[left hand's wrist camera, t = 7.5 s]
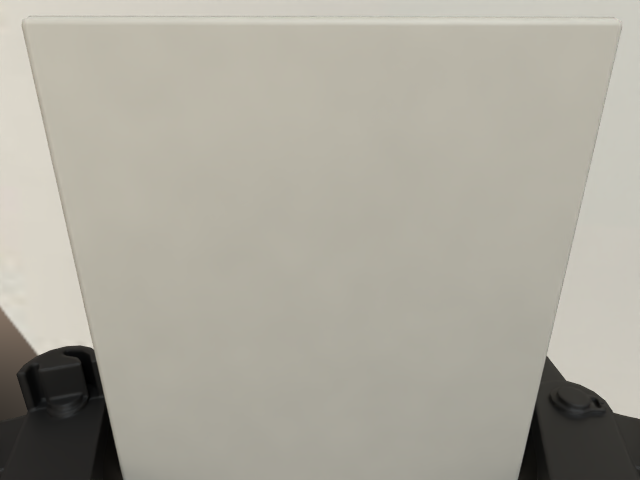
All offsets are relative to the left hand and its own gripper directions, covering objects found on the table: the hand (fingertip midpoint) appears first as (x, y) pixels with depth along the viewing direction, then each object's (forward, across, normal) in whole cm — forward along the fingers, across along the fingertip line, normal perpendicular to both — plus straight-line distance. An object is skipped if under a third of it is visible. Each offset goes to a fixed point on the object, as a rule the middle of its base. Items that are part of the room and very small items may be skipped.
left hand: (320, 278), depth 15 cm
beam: (0, 0, -20) cm, 21 cm away
